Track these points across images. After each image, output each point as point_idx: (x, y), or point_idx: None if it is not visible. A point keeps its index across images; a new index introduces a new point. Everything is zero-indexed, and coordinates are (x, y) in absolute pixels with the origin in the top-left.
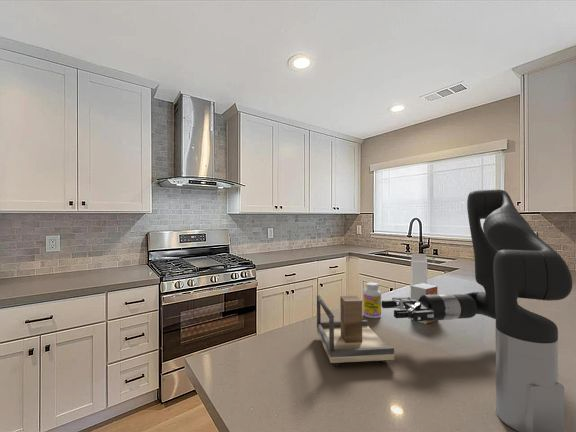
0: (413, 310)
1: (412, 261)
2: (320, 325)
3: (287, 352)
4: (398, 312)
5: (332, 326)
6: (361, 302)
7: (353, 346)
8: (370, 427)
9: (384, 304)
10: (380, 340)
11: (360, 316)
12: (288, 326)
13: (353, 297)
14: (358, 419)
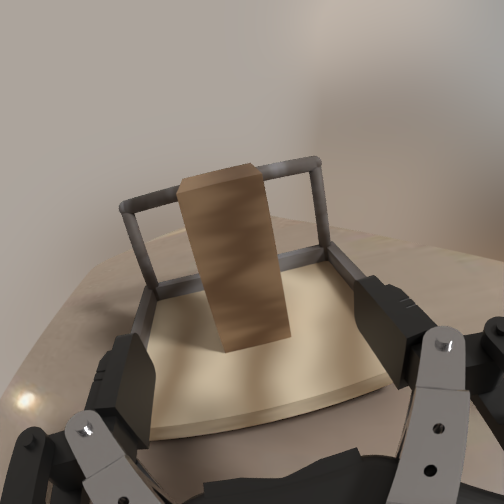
0: (80, 462)
1: None
2: (307, 250)
3: None
4: (107, 355)
5: (127, 231)
6: (178, 201)
7: (195, 332)
8: (23, 361)
9: (360, 308)
10: (240, 410)
11: (196, 261)
12: (376, 236)
13: (232, 175)
14: (39, 351)
